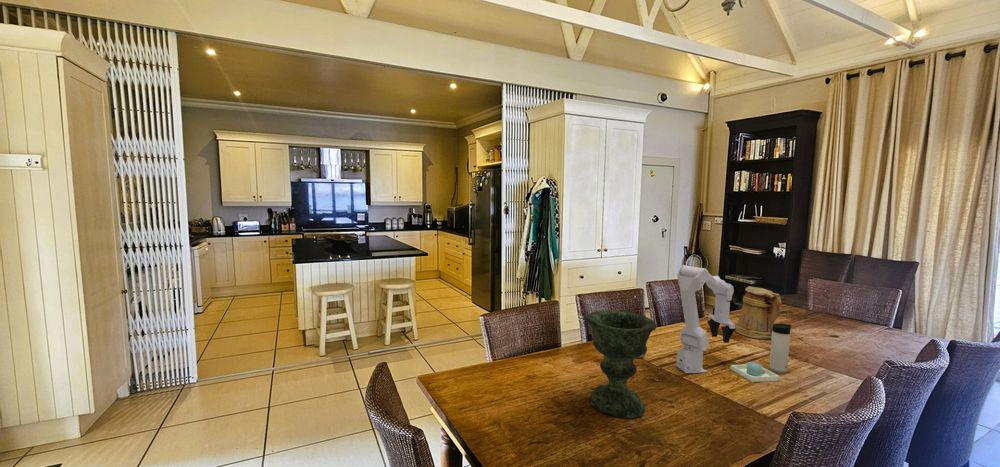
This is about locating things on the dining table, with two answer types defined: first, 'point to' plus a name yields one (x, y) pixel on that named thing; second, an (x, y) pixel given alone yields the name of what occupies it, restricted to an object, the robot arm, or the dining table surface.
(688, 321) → the robot arm
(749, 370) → the tabbed cylinder
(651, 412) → the dining table surface
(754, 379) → the tray
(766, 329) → the tankard
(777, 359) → the travel mug
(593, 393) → the goblet
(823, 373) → the dining table surface
